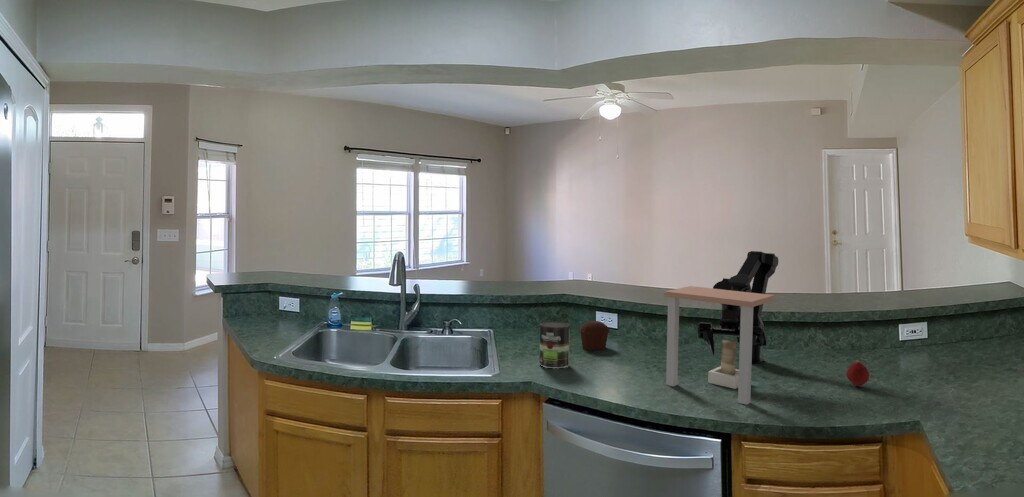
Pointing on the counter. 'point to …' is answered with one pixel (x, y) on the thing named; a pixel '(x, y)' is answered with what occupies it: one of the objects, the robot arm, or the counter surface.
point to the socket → (723, 378)
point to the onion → (857, 374)
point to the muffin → (594, 335)
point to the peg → (728, 357)
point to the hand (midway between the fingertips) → (728, 356)
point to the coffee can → (554, 344)
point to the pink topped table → (746, 329)
